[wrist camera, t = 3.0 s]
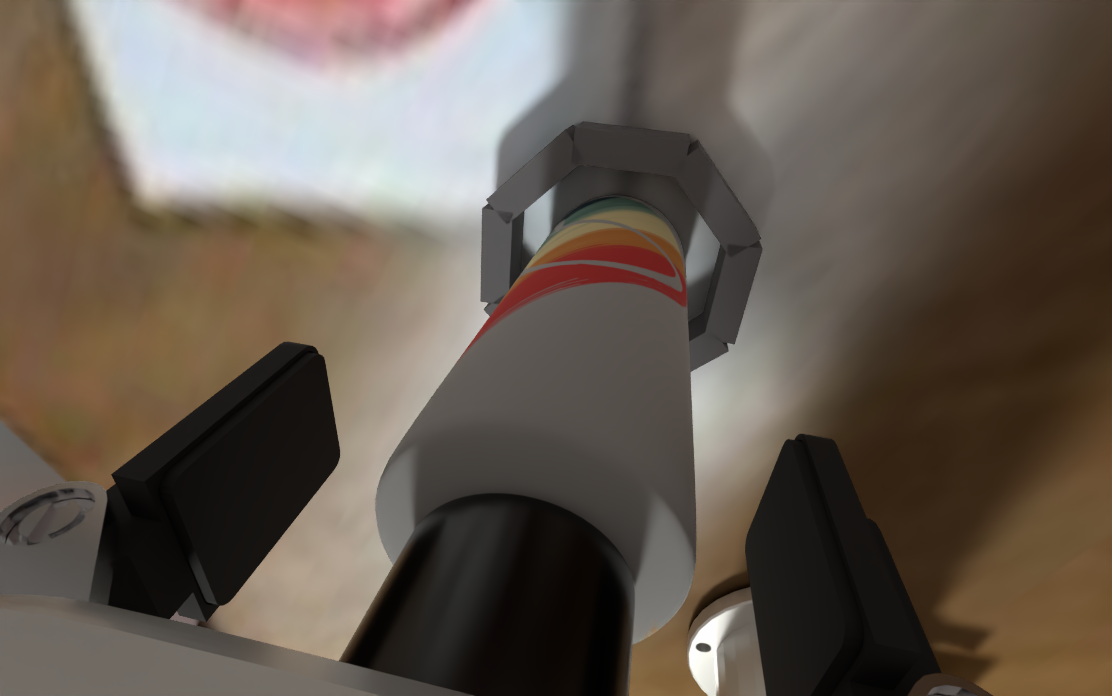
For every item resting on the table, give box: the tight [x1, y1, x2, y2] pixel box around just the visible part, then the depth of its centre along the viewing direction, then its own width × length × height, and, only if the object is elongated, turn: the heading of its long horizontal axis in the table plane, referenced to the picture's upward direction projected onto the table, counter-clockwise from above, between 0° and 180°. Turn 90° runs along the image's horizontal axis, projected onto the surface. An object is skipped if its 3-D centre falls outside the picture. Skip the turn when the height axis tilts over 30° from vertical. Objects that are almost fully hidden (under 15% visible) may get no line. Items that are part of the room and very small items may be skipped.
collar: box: [481, 122, 762, 372], centre depth 21 cm, size 10×10×2 cm
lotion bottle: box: [339, 196, 696, 696], centre depth 13 cm, size 6×6×20 cm
